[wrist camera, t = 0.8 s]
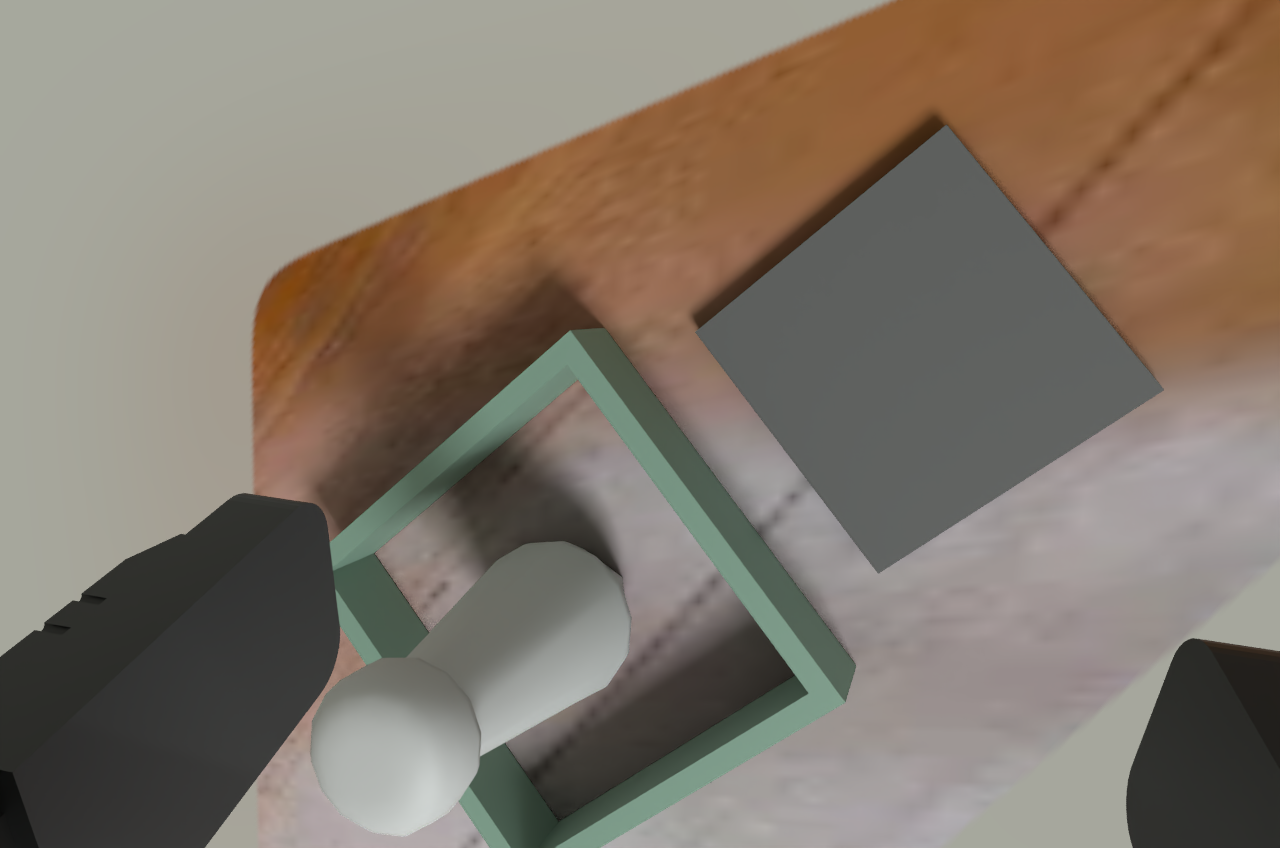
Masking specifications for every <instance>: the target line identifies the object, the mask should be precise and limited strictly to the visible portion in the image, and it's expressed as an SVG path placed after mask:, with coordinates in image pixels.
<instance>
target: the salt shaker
mask: <svg viewBox="0 0 1280 848" xmlns="http://www.w3.org/2000/svg"><path fill="white" fill-rule="evenodd" d="M631 619H632V618H631V614H630V611H629V608H628V605H627V602H626V599H625V595H624V587H623V579H622V577H621V576H620V575H618V574H617V573H616V572H614V571H613V570H612V569H610V568H609V567H608V566H606V565H605V564H604V563H602V562H601V561H600V560H599V559H598V558H597V557H596V556H594V555H592V554H590V553H589V552H587V551H586V550H585V549H583V548H581V547H578V546H576V545H573V544H571V543H568V542H566V541H555V542H538V543H528V544H524V545H522V546H521V547H519V548H517V549H515V550H514V551H512V552H510V553H508V554H507V555H505V556H503V557H501V558H500V559H498V560H497V561H496V562H495V563H494V564H493V565H492V566H491V567H490V568H489V569H488V570H487V571H486V572H485V573H484V575H483V576H482V577H481V578H480V579H479V580H478V581H477V582H476V583H475V584H474V585H473V586H472V587H471V588H470V590H469V591H468V592H467V593H466V594H465V595H464V596H463V597H462V598H461V599H460V600H459V601H458V602H457V604H456V605H455V606H454V607H453V608H452V609H451V610H450V611H449V612H448V613H447V614H446V615H445V616H444V617H443V619H442V620H441V621H440V622H439V623H438V624H437V625H436V626H435V627H434V628H433V629H432V630H431V631H430V632H429V634H428V635H427V636H426V637H425V638H424V639H423V640H422V641H421V642H420V643H419V644H418V645H417V646H416V647H415V649H414V650H413V651H412V652H411V653H410V654H409V655H408V656H407V657H406V658H381V659H379V660H377V661H375V662H372V663H370V664H368V665H366V666H365V667H363V668H361V669H359V670H358V671H356V672H354V673H352V674H351V675H349V676H347V677H345V678H343V679H342V680H340V681H339V682H338V683H337V684H336V685H335V686H334V687H333V688H332V689H331V690H330V691H329V692H328V693H327V694H326V695H325V697H324V699H323V701H322V703H321V705H320V706H319V708H318V710H317V712H316V714H315V716H314V718H313V720H312V732H311V753H310V754H311V762H312V765H313V767H314V770H315V773H316V776H317V779H318V782H319V784H320V787H321V790H322V792H323V793H324V794H325V795H326V797H327V798H328V799H329V801H330V802H331V803H332V804H333V806H334V807H335V808H336V810H337V811H338V812H339V813H340V815H342V816H343V817H345V818H347V819H349V820H350V821H352V822H354V823H355V824H357V825H359V826H361V827H362V828H364V829H366V830H368V831H370V832H372V833H376V834H385V835H394V836H402V837H405V836H407V835H409V834H411V833H413V832H415V831H417V830H419V829H421V828H423V827H425V826H427V825H429V824H431V823H433V822H434V821H436V820H438V819H439V818H441V817H443V816H444V815H446V814H447V813H449V811H450V810H451V809H452V808H453V807H454V806H455V805H456V803H457V802H458V801H459V800H460V799H461V797H462V796H463V794H464V792H465V791H466V789H467V788H468V786H469V785H470V783H471V781H472V780H473V778H474V777H475V775H476V774H477V771H478V768H479V765H480V756H482V755H484V754H485V753H487V752H489V751H491V750H492V749H494V748H496V747H498V746H500V745H501V744H503V743H505V742H507V741H509V740H510V739H512V738H514V737H516V736H517V735H519V734H521V733H523V732H525V731H526V730H528V729H530V728H532V727H533V726H535V725H537V724H539V723H541V722H542V721H544V720H546V719H548V718H550V717H551V716H553V715H555V714H557V713H558V712H560V711H562V710H564V709H566V708H567V707H569V706H571V705H573V704H574V703H576V702H578V701H580V700H582V699H584V698H586V697H588V696H590V695H591V694H593V693H595V692H597V691H599V690H601V689H603V688H605V687H607V685H608V684H609V682H610V681H611V679H612V678H613V677H614V675H615V674H616V672H617V671H618V669H619V668H620V666H621V665H622V663H623V662H624V660H625V659H626V657H627V655H628V653H629V644H630V632H631Z"/></svg>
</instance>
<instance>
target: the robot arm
mask: <svg viewBox="0 0 1280 848" xmlns="http://www.w3.org/2000/svg"><path fill="white" fill-rule="evenodd" d="M339 642H340V624H339V616H338V608H337V599H336V591H335V583H334V575H333V567H332V558H331V550H330V542H329V534H328V527H327V521H326V518H325V515H324V513H323V511H322V510H321V509H320V508H319V506H317V505H315V504H312V503H306V502H300V501H293V500H286V499H280V498H273V497H267V496H260V495H253V494H246V493H243V494H238V495H236V496H233V497H232V498H230V499H229V500H228V501H226V502H225V503H224V504H223V505H221V506H220V507H219V508H218V509H216V510H215V511H214V512H213V513H212V514H211V515H209V516H208V517H207V518H205V520H203V521H202V522H200V523H199V524H198V525H197V526H196V527H194V528H193V529H192V530H191V531H189V532H188V533H187V534H186V535H184V534H180V535H178V536H176V537H173V538H171V539H169V540H167V541H165V542H162V543H160V544H158V545H156V546H154V547H152V548H150V549H147V550H145V551H143V552H141V553H139V554H136V555H134V556H132V557H130V558H128V559H126V560H124V561H123V562H122V563H120V564H119V565H118V566H117V567H115V568H114V569H113V570H111V571H110V572H109V573H107V574H106V575H105V576H104V577H102V578H101V579H100V580H99V581H97V582H96V583H95V584H94V585H92V586H91V587H89V588H88V589H87V590H86V591H84V592H83V593H82V597H81V600H80V601H79V602H78V601H72V602H70V603H69V604H68V605H66V606H65V607H64V608H63V609H61V610H60V611H59V612H57V613H56V614H55V615H53V616H52V617H51V618H50V619H48V620H47V621H46V622H45V626H44V628H43V630H42V631H35V630H34V631H33V632H32V633H30V634H29V635H28V636H26V637H25V638H24V639H23V640H21V641H20V642H19V643H17V644H16V645H15V646H14V647H12V648H11V649H10V650H8V651H7V652H6V653H5V654H3V655H2V656H1V657H0V848H205V847H206V845H207V844H208V843H209V841H210V840H211V839H212V837H213V836H214V835H215V833H216V832H217V831H218V829H219V828H220V827H221V825H222V824H223V823H224V821H225V820H226V819H227V817H228V816H229V815H230V813H231V812H232V811H233V809H234V808H235V807H236V805H237V804H238V803H239V801H240V800H241V799H242V797H243V796H244V795H245V793H246V792H247V791H248V789H249V788H250V787H251V785H252V784H253V782H254V781H255V780H256V779H257V777H258V776H259V775H260V773H261V772H262V771H263V769H264V768H265V767H266V765H267V764H268V763H269V761H270V760H271V759H272V757H273V756H274V755H275V753H276V752H277V751H278V749H279V748H280V747H281V745H282V744H283V743H284V741H285V740H286V739H287V737H288V736H289V735H290V734H291V732H292V731H293V730H294V728H295V727H296V726H297V724H298V723H299V722H300V720H301V719H302V718H303V716H304V715H305V714H306V712H307V711H308V710H309V708H310V707H311V706H312V704H313V703H314V702H315V700H316V699H317V698H318V696H319V695H320V694H321V692H322V691H323V689H324V688H325V686H326V684H327V682H328V680H329V678H330V676H331V674H332V671H333V668H334V665H335V662H336V658H337V654H338V649H339ZM1126 808H1127V809H1126V810H1127V823H1128V830H1129V835H1130V839H1131V843H1132V846H1133V848H1280V651H1274V650H1267V649H1261V648H1254V647H1248V646H1241V645H1234V644H1228V643H1221V642H1215V641H1208V640H1201V639H1194V638H1193V639H1189V640H1187V641H1185V642H1184V643H1183V644H1182V645H1181V646H1180V647H1179V648H1178V650H1177V652H1176V653H1175V655H1174V657H1173V660H1172V662H1171V665H1170V667H1169V670H1168V672H1167V675H1166V678H1165V680H1164V683H1163V686H1162V688H1161V691H1160V694H1159V696H1158V699H1157V701H1156V704H1155V707H1154V709H1153V712H1152V714H1151V717H1150V720H1149V723H1148V725H1147V728H1146V730H1145V733H1144V735H1143V738H1142V741H1141V743H1140V746H1139V749H1138V751H1137V754H1136V756H1135V759H1134V762H1133V765H1132V767H1131V771H1130V775H1129V779H1128V786H1127V797H1126Z"/></svg>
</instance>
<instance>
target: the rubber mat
mask: <svg viewBox="0 0 1280 848" xmlns="http://www.w3.org/2000/svg"><path fill="white" fill-rule="evenodd" d="M696 334H697V335H698V336H699V338H700V339H701V340H702V342H703V343H704V344H705V346H706V347H707V348H708V350H709V351H710V352H711V354H712V355H713V356H714V358H715V359H716V360H717V362H718V363H719V364H720V365H721V367H722V368H723V369H724V371H725V372H726V373H727V375H728V376H729V377H730V379H731V380H732V381H733V383H734V384H735V385H736V387H737V388H738V389H739V391H740V392H741V393H742V395H743V396H744V397H745V398H746V400H747V401H748V402H749V404H750V405H751V406H752V408H753V409H754V410H755V412H756V413H757V414H758V416H759V417H760V418H761V420H762V421H763V422H764V424H765V425H766V426H767V427H768V429H769V430H770V431H771V433H772V434H773V435H774V437H775V438H776V439H777V441H778V442H779V443H780V445H781V446H782V447H783V449H784V450H785V451H786V453H787V454H788V455H789V457H790V458H791V459H792V460H793V462H794V463H795V464H796V466H797V467H798V468H799V470H800V471H801V472H802V474H803V475H804V476H805V478H806V479H807V480H808V482H809V483H810V484H811V486H812V487H813V488H814V490H815V491H816V492H817V493H818V495H819V496H820V497H821V499H822V500H823V501H824V503H825V504H826V505H827V507H828V508H829V509H830V511H831V512H832V513H833V515H834V516H835V517H836V519H837V520H838V521H839V523H840V524H841V525H842V526H843V528H844V529H845V530H846V532H847V533H848V534H849V536H850V537H851V538H852V540H853V541H854V542H855V544H856V545H857V546H858V548H859V549H860V550H861V552H862V553H863V554H864V556H865V557H866V558H867V559H868V561H869V562H870V563H871V565H872V566H873V567H874V569H875V570H876V571H877V573H880V572H882V571H883V570H885V569H886V568H888V567H889V566H891V565H892V564H894V563H896V562H897V561H899V560H900V559H902V558H903V557H905V556H906V555H908V554H910V553H911V552H913V551H914V550H916V549H917V548H919V547H920V546H922V545H924V544H925V543H927V542H928V541H930V540H931V539H933V538H934V537H936V536H938V535H939V534H941V533H942V532H944V531H945V530H947V529H948V528H950V527H952V526H953V525H955V524H956V523H958V522H959V521H961V520H962V519H964V518H966V517H967V516H969V515H970V514H972V513H973V512H975V511H976V510H978V509H980V508H981V507H983V506H984V505H986V504H987V503H989V502H991V501H992V500H994V499H995V498H997V497H998V496H1000V495H1001V494H1003V493H1005V492H1006V491H1008V490H1009V489H1011V488H1012V487H1014V486H1015V485H1017V484H1019V483H1020V482H1022V481H1023V480H1025V479H1026V478H1028V477H1029V476H1031V475H1033V474H1034V473H1036V472H1037V471H1039V470H1040V469H1042V468H1043V467H1045V466H1047V465H1048V464H1050V463H1051V462H1053V461H1054V460H1056V459H1057V458H1059V457H1061V456H1062V455H1064V454H1065V453H1067V452H1068V451H1070V450H1071V449H1073V448H1075V447H1076V446H1078V445H1079V444H1081V443H1082V442H1084V441H1085V440H1087V439H1089V438H1090V437H1092V436H1093V435H1095V434H1096V433H1098V432H1099V431H1101V430H1103V429H1104V428H1106V427H1107V426H1109V425H1110V424H1112V423H1113V422H1115V421H1117V420H1118V419H1120V418H1121V417H1123V416H1124V415H1126V414H1127V413H1129V412H1131V411H1132V410H1134V409H1135V408H1137V407H1138V406H1140V405H1141V404H1143V403H1145V402H1146V401H1148V400H1149V399H1151V398H1152V397H1154V396H1155V395H1157V394H1159V393H1160V392H1162V391H1163V390H1164V389H1163V388H1162V387H1161V385H1160V384H1159V383H1158V382H1157V381H1156V379H1155V378H1154V377H1153V376H1152V374H1151V373H1150V372H1149V371H1148V370H1147V368H1146V367H1145V366H1144V365H1143V363H1142V362H1141V361H1140V360H1139V359H1138V357H1137V356H1136V355H1135V354H1134V353H1133V351H1132V350H1131V349H1130V348H1129V346H1128V345H1127V344H1126V343H1125V342H1124V340H1123V339H1122V338H1121V337H1120V335H1119V334H1118V333H1117V332H1116V331H1115V329H1114V328H1113V327H1112V326H1111V324H1110V323H1109V322H1108V321H1107V320H1106V318H1105V317H1104V316H1103V315H1102V314H1101V312H1100V311H1099V310H1098V309H1097V307H1096V306H1095V305H1094V304H1093V303H1092V301H1091V300H1090V299H1089V298H1088V296H1087V295H1086V294H1085V293H1084V292H1083V290H1082V289H1081V288H1080V287H1079V285H1078V284H1077V283H1076V282H1075V281H1074V279H1073V278H1072V277H1071V276H1070V274H1069V273H1068V272H1067V271H1066V270H1065V268H1064V267H1063V266H1062V265H1061V264H1060V262H1059V261H1058V260H1057V259H1056V257H1055V256H1054V255H1053V254H1052V253H1051V251H1050V250H1049V249H1048V248H1047V246H1046V245H1045V244H1044V243H1043V242H1042V240H1041V239H1040V238H1039V237H1038V235H1037V234H1036V233H1035V232H1034V231H1033V229H1032V228H1031V227H1030V226H1029V224H1028V223H1027V222H1026V221H1025V220H1024V218H1023V217H1022V216H1021V215H1020V214H1019V212H1018V211H1017V210H1016V209H1015V207H1014V206H1013V205H1012V204H1011V203H1010V201H1009V200H1008V199H1007V198H1006V196H1005V195H1004V194H1003V193H1002V192H1001V190H1000V189H999V188H998V187H997V185H996V184H995V183H994V182H993V181H992V179H991V178H990V177H989V176H988V175H987V173H986V172H985V171H984V170H983V168H982V167H981V166H980V165H979V164H978V162H977V161H976V160H975V159H974V157H973V156H972V155H971V154H970V153H969V151H968V150H967V149H966V148H965V146H964V145H963V144H962V143H961V142H960V140H959V139H958V138H957V137H956V135H955V134H954V133H953V132H952V131H951V129H950V128H949V127H948V126H947V125H945V126H944V127H943V128H942V129H941V130H939V131H938V132H937V133H936V134H935V135H933V136H932V137H931V138H930V139H928V140H927V141H926V142H925V143H924V144H922V145H921V146H920V147H919V148H918V149H916V150H915V151H914V152H913V153H911V154H910V155H909V156H908V157H907V158H905V159H904V160H903V161H902V162H901V163H899V164H898V165H897V166H896V167H895V168H893V169H892V170H891V171H890V172H888V173H887V174H886V175H885V176H884V177H882V178H881V179H880V180H879V181H878V182H876V183H875V184H874V185H873V186H872V187H870V188H869V189H868V190H867V191H865V192H864V193H863V194H862V195H861V196H859V197H858V198H857V199H856V200H855V201H853V202H852V203H851V204H850V205H849V206H847V207H846V208H845V209H844V210H842V211H841V212H840V213H839V214H838V215H836V216H835V217H834V218H833V219H832V220H830V221H829V222H828V223H827V224H825V225H824V226H823V227H822V228H821V229H819V230H818V231H817V232H816V233H815V234H813V235H812V236H811V237H810V238H809V239H807V240H806V241H805V242H804V243H802V244H801V245H800V246H799V247H798V248H796V249H795V250H794V251H793V252H792V253H790V254H789V255H788V256H787V257H786V258H784V259H783V260H782V261H781V262H779V263H778V264H777V265H776V266H775V267H773V268H772V269H771V270H770V271H769V272H767V273H766V274H765V275H764V276H763V277H761V278H760V279H759V280H758V281H756V282H755V283H754V284H753V285H752V286H750V287H749V288H748V289H747V290H746V291H744V292H743V293H742V294H741V295H740V296H738V297H737V298H736V299H735V300H733V301H732V302H731V303H730V304H729V305H727V306H726V307H725V308H724V309H723V310H721V311H720V312H719V313H718V314H716V315H715V316H714V317H713V318H712V319H710V320H709V321H708V322H707V323H706V324H704V325H703V326H702V327H701V328H700V329H698V330H697V331H696Z"/></svg>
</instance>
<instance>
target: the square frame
mask: <svg viewBox="0 0 1280 848" xmlns="http://www.w3.org/2000/svg"><path fill="white" fill-rule="evenodd" d="M577 380H579V381H580V383H581V384H582V386H583V387H584V388H585V390H586V391H587V392H588V394H589V395H590V396H591V398H592V399H593V400H594V402H595V403H596V405H597V406H598V407H599V409H600V410H601V411H602V413H603V414H604V415H605V417H606V418H607V420H608V421H609V422H610V424H611V425H612V426H613V428H614V429H615V430H616V432H617V433H618V435H619V436H620V437H621V439H622V440H623V441H624V443H625V444H626V445H627V447H628V448H629V449H630V451H631V452H632V454H633V455H634V456H635V458H636V459H637V460H638V462H639V463H640V464H641V466H642V467H643V469H644V470H645V471H646V473H647V474H648V475H649V477H650V478H651V479H652V481H653V482H654V483H655V485H656V486H657V488H658V489H659V490H660V492H661V493H662V494H663V496H664V497H665V498H666V500H667V501H668V503H669V504H670V505H671V507H672V508H673V509H674V511H675V512H676V513H677V515H678V516H679V517H680V519H681V520H682V522H683V523H684V524H685V526H686V527H687V528H688V530H689V531H690V532H691V534H692V535H693V537H694V538H695V539H696V541H697V542H698V543H699V545H700V546H701V547H702V549H703V550H704V551H705V553H706V554H707V556H708V557H709V558H710V560H711V561H712V562H713V564H714V565H715V566H716V568H717V569H718V571H719V572H720V573H721V575H722V576H723V577H724V579H725V580H726V581H727V583H728V584H729V586H730V587H731V588H732V590H733V591H734V592H735V594H736V595H737V596H738V598H739V599H740V600H741V602H742V603H743V605H744V606H745V607H746V609H747V610H748V611H749V613H750V614H751V615H752V617H753V618H754V620H755V621H756V622H757V624H758V625H759V626H760V628H761V629H762V630H763V632H764V633H765V634H766V636H767V637H768V639H769V640H770V641H771V643H772V644H773V645H774V647H775V648H776V649H777V651H778V652H779V654H780V655H781V656H782V658H783V659H784V660H785V662H786V663H787V664H788V666H789V667H790V668H791V670H792V671H793V673H794V674H795V676H793V677H792V678H790V679H788V680H787V681H785V682H784V683H782V684H780V685H779V686H777V687H776V688H774V689H772V690H771V691H769V692H767V693H766V694H764V695H763V696H761V697H759V698H758V699H756V700H755V701H753V702H751V703H750V704H748V705H746V706H745V707H743V708H742V709H740V710H738V711H737V712H735V713H734V714H732V715H730V716H729V717H727V718H725V719H724V720H722V721H721V722H719V723H717V724H716V725H714V726H713V727H711V728H709V729H708V730H706V731H704V732H703V733H701V734H700V735H698V736H696V737H695V738H693V739H692V740H690V741H688V742H687V743H685V744H683V745H682V746H680V747H679V748H677V749H675V750H674V751H672V752H670V753H669V754H667V755H666V756H664V757H662V758H661V759H659V760H658V761H656V762H654V763H653V764H651V765H649V766H648V767H646V768H645V769H643V770H641V771H640V772H638V773H637V774H635V775H633V776H632V777H630V778H628V779H627V780H625V781H624V782H622V783H620V784H619V785H617V786H616V787H614V788H612V789H611V790H609V791H607V792H606V793H604V794H603V795H601V796H599V797H598V798H596V799H595V800H593V801H591V802H590V803H588V804H586V805H585V806H583V807H582V808H580V809H578V810H577V811H575V812H574V813H572V814H570V815H569V816H567V817H565V818H564V819H562V820H561V821H559V822H558V820H557V819H556V817H555V816H554V815H553V813H552V812H551V810H550V809H549V807H548V806H547V804H546V803H545V801H544V800H543V799H542V797H541V796H540V794H539V793H538V791H537V790H536V788H535V787H534V785H533V784H532V783H531V781H530V780H529V778H528V777H527V775H526V774H525V772H524V771H523V769H522V768H521V767H520V765H519V764H518V762H517V761H516V759H515V758H514V756H513V755H512V753H511V752H510V751H509V749H508V748H507V746H506V745H505V743H503V744H501V745H500V746H498V747H496V748H494V749H492V750H491V751H489V752H487V753H485V754H484V755H482V756H480V765H479V768H478V771H477V774H476V775H475V777H474V778H473V780H472V781H471V783H470V785H469V786H468V788H467V789H466V791H465V792H464V794H463V796H462V797H461V799H460V800H459V803H460V804H461V806H462V807H463V809H464V810H465V812H466V813H467V815H468V816H469V818H470V819H471V821H472V822H473V824H474V825H475V827H476V828H477V829H478V831H479V832H480V834H481V835H482V837H483V838H484V840H485V841H486V843H487V844H488V846H489V847H490V848H600V847H602V846H604V845H605V844H607V843H609V842H610V841H612V840H614V839H615V838H617V837H619V836H620V835H622V834H624V833H626V832H627V831H629V830H631V829H632V828H634V827H636V826H637V825H639V824H641V823H642V822H644V821H646V820H648V819H649V818H651V817H653V816H654V815H656V814H658V813H659V812H661V811H663V810H664V809H666V808H668V807H669V806H671V805H673V804H675V803H676V802H678V801H680V800H681V799H683V798H685V797H686V796H688V795H690V794H691V793H693V792H695V791H697V790H698V789H700V788H702V787H703V786H705V785H707V784H708V783H710V782H712V781H713V780H715V779H717V778H719V777H720V776H722V775H724V774H725V773H727V772H729V771H730V770H732V769H734V768H735V767H737V766H739V765H741V764H742V763H744V762H746V761H747V760H749V759H751V758H752V757H754V756H756V755H757V754H759V753H761V752H762V751H764V750H766V749H768V748H769V747H771V746H773V745H774V744H776V743H778V742H779V741H781V740H783V739H784V738H786V737H788V736H790V735H791V734H793V733H795V732H796V731H798V730H800V729H801V728H803V727H805V726H806V725H808V724H810V723H812V722H813V721H815V720H817V719H818V718H820V717H822V716H823V715H825V714H827V713H828V712H830V711H832V710H834V709H835V708H837V707H839V706H840V705H842V704H844V703H845V702H846V699H847V695H848V692H849V689H850V685H851V682H852V679H853V675H854V672H855V668H856V665H855V663H854V662H853V661H852V659H851V658H850V657H849V655H848V654H847V653H846V651H845V650H844V649H843V647H842V646H841V645H840V643H839V642H838V641H837V639H836V638H835V637H834V635H833V634H832V633H831V631H830V630H829V629H828V627H827V626H826V624H825V623H824V622H823V620H822V619H821V618H820V616H819V615H818V614H817V612H816V611H815V610H814V608H813V607H812V606H811V604H810V603H809V602H808V600H807V599H806V598H805V596H804V595H803V594H802V592H801V591H800V590H799V588H798V587H797V586H796V584H795V583H794V582H793V580H792V579H791V577H790V576H789V575H788V573H787V572H786V571H785V569H784V568H783V567H782V565H781V564H780V563H779V561H778V560H777V559H776V557H775V556H774V555H773V553H772V552H771V551H770V549H769V548H768V547H767V545H766V544H765V543H764V541H763V540H762V539H761V537H760V536H759V535H758V533H757V532H756V530H755V529H754V528H753V526H752V525H751V524H750V522H749V521H748V520H747V518H746V517H745V516H744V514H743V513H742V512H741V510H740V509H739V508H738V506H737V505H736V504H735V502H734V501H733V500H732V498H731V497H730V496H729V494H728V493H727V492H726V490H725V489H724V487H723V486H722V485H721V483H720V482H719V481H718V479H717V478H716V477H715V475H714V474H713V473H712V471H711V470H710V469H709V467H708V466H707V465H706V463H705V462H704V461H703V459H702V458H701V457H700V455H699V454H698V453H697V451H696V450H695V449H694V447H693V446H692V445H691V443H690V442H689V440H688V439H687V438H686V436H685V435H684V434H683V432H682V431H681V430H680V428H679V427H678V426H677V424H676V423H675V422H674V420H673V419H672V418H671V416H670V415H669V414H668V412H667V411H666V410H665V408H664V407H663V406H662V404H661V403H660V402H659V400H658V399H657V398H656V396H655V395H654V393H653V392H652V391H651V389H650V388H649V387H648V385H647V384H646V383H645V381H644V380H643V379H642V377H641V376H640V375H639V373H638V372H637V371H636V369H635V368H634V367H633V365H632V364H631V363H630V361H629V360H628V359H627V357H626V356H625V355H624V353H623V352H622V351H621V349H620V348H619V346H618V345H617V344H616V342H615V341H614V340H613V338H612V337H611V336H610V334H609V333H608V332H607V330H606V329H605V328H595V329H581V330H570V331H569V332H568V333H567V334H565V335H564V336H563V337H562V338H561V339H560V340H559V341H557V342H556V343H555V344H554V345H553V346H552V347H551V348H550V349H548V350H547V351H546V352H545V353H544V354H543V355H542V356H540V357H539V358H538V359H537V360H536V361H535V362H534V363H533V364H531V365H530V366H529V367H528V368H527V369H526V370H525V371H523V372H522V373H521V374H520V375H519V376H518V377H517V378H516V379H514V380H513V381H512V382H511V383H510V384H509V385H508V386H506V387H505V388H504V389H503V390H502V391H501V392H500V393H499V394H497V395H496V396H495V397H494V398H493V399H492V400H491V401H489V402H488V403H487V404H486V405H485V406H484V407H483V408H482V409H480V410H479V411H478V412H477V413H476V414H475V415H474V416H472V417H471V418H470V419H469V420H468V421H467V422H466V423H465V424H463V425H462V426H461V427H460V428H459V429H458V430H457V431H456V432H454V433H453V434H452V435H451V436H450V437H449V438H448V439H446V440H445V441H444V442H443V443H442V444H441V445H440V446H439V447H437V448H436V449H435V450H434V451H433V452H432V453H431V454H429V455H428V456H427V457H426V458H425V459H424V460H423V461H422V462H420V463H419V464H418V465H417V466H416V467H415V468H414V469H412V470H411V471H410V472H409V473H408V474H407V475H406V476H405V477H403V478H402V479H401V480H400V481H399V482H398V483H397V484H395V485H394V486H393V487H392V488H391V489H390V490H389V491H388V492H386V493H385V494H384V495H383V496H382V497H381V498H380V499H378V500H377V501H376V502H375V503H374V504H373V505H372V506H371V507H369V508H368V509H367V510H366V511H365V512H364V513H363V514H361V515H360V516H359V517H358V518H357V519H356V520H355V521H354V522H352V523H351V524H350V525H349V526H348V527H347V528H346V529H345V530H343V531H342V532H341V533H340V534H339V535H338V536H337V537H335V538H334V539H333V540H332V541H331V542H330V550H331V558H332V567H333V575H334V583H335V591H336V599H337V608H338V616H339V624H340V627H341V628H342V630H343V631H344V633H345V634H346V636H347V637H348V638H349V640H350V641H351V643H352V644H353V646H354V647H355V649H356V650H357V652H358V653H359V655H360V656H361V658H362V659H363V661H364V662H365V664H366V665H368V664H370V663H372V662H375V661H377V660H379V659H381V658H406V657H407V656H408V655H409V654H410V653H411V652H412V651H413V650H414V649H415V647H416V646H417V645H418V644H419V643H420V642H421V641H422V640H423V639H424V638H425V637H426V636H427V635H428V634H429V633H428V631H427V630H426V628H425V627H424V625H423V624H422V623H421V621H420V620H419V618H418V617H417V615H416V614H415V612H414V611H413V609H412V608H411V607H410V605H409V604H408V602H407V601H406V599H405V598H404V596H403V595H402V593H401V592H400V591H399V589H398V588H397V586H396V585H395V583H394V582H393V580H392V579H391V577H390V576H389V575H388V573H387V572H386V570H385V569H384V567H383V566H382V564H381V563H380V561H379V560H378V559H377V557H376V556H375V554H374V553H375V552H376V551H377V550H378V549H380V548H381V547H382V546H383V545H384V544H385V543H387V542H388V541H389V540H390V539H391V538H392V537H394V536H395V535H396V534H397V533H398V532H400V531H401V530H402V529H403V528H404V527H405V526H407V525H408V524H409V523H410V522H411V521H412V520H414V519H415V518H416V517H417V516H418V515H419V514H421V513H422V512H423V511H424V510H425V509H427V508H428V507H429V506H430V505H431V504H432V503H434V502H435V501H436V500H437V499H438V498H439V497H441V496H442V495H443V494H444V493H445V492H446V491H448V490H449V489H450V488H451V487H452V486H453V485H455V484H456V483H457V482H458V481H459V480H461V479H462V478H463V477H464V476H465V475H466V474H468V473H469V472H470V471H471V470H472V469H473V468H475V467H476V466H477V465H478V464H479V463H480V462H482V461H483V460H484V459H485V458H486V457H487V456H489V455H490V454H491V453H492V452H493V451H495V450H496V449H497V448H498V447H499V446H500V445H502V444H503V443H504V442H505V441H506V440H507V439H509V438H510V437H511V436H512V435H513V434H514V433H516V432H517V431H518V430H519V429H520V428H522V427H523V426H524V425H525V424H526V423H527V422H529V421H530V420H531V419H532V418H533V417H534V416H536V415H537V414H538V413H539V412H540V411H541V410H543V409H544V408H545V407H546V406H547V405H548V404H550V403H551V402H552V401H553V400H554V399H556V398H557V397H558V396H559V395H560V394H561V393H563V392H564V391H565V390H566V389H567V388H568V387H570V386H571V385H572V384H573V383H574V382H575V381H577Z"/></svg>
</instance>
